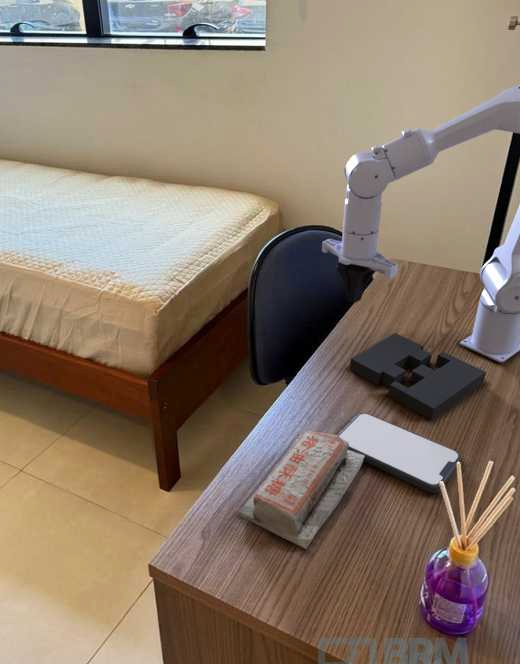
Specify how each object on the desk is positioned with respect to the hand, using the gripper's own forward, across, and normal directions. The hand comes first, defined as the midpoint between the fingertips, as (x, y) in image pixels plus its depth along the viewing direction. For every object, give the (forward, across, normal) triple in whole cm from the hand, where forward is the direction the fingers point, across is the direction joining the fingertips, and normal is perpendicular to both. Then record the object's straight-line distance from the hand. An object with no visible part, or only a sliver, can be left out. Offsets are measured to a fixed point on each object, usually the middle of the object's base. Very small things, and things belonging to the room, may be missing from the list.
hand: (354, 300), depth 107 cm
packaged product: (+10, +19, -32) cm, 38 cm away
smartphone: (+10, +23, -17) cm, 30 cm away
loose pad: (+9, +9, 0) cm, 13 cm away
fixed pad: (+9, +18, 0) cm, 20 cm away
